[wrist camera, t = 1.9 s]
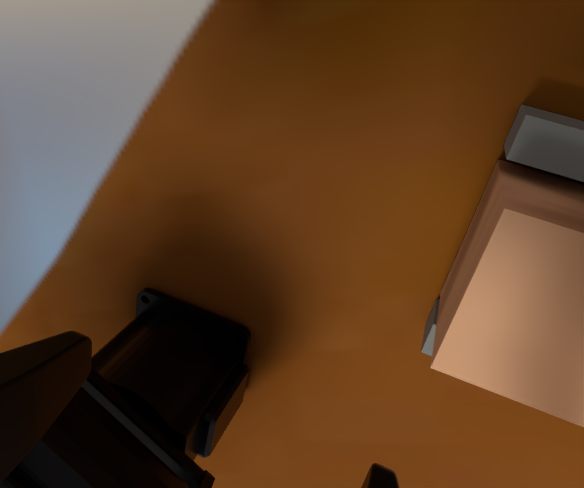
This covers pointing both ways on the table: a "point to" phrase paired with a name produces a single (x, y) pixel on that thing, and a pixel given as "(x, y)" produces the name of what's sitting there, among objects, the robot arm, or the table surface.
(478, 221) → the block
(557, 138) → the chute
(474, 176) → the table surface
